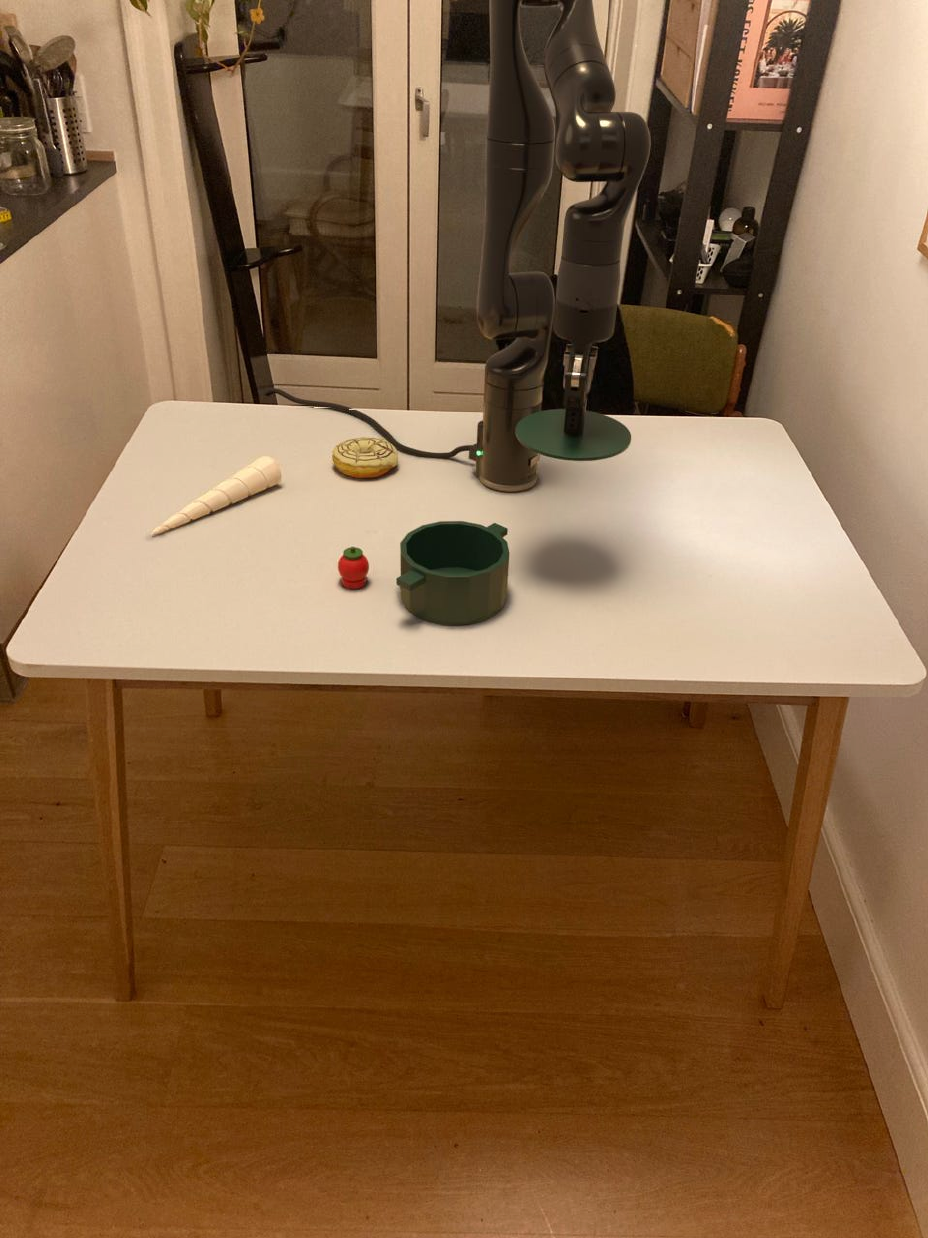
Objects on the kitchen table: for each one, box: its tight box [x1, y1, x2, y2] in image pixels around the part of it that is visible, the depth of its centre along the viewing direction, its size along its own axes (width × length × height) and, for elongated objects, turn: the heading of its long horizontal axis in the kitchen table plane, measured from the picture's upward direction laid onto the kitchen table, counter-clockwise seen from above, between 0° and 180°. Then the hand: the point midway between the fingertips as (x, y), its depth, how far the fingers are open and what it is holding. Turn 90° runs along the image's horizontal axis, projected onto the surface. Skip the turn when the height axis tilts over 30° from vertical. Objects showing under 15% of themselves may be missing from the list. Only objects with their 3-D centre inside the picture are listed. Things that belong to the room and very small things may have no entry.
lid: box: [515, 395, 632, 462], centre depth 128 cm, size 15×15×6 cm
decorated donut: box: [331, 436, 399, 479], centre depth 163 cm, size 10×11×4 cm
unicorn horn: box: [150, 455, 282, 536], centre depth 150 cm, size 5×24×5 cm, turn 137°
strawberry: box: [337, 546, 370, 590], centre depth 133 cm, size 4×4×6 cm
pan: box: [396, 520, 510, 626], centre depth 131 cm, size 14×20×8 cm
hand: (573, 427), depth 129 cm, fingers closed on lid, 2 cm apart
